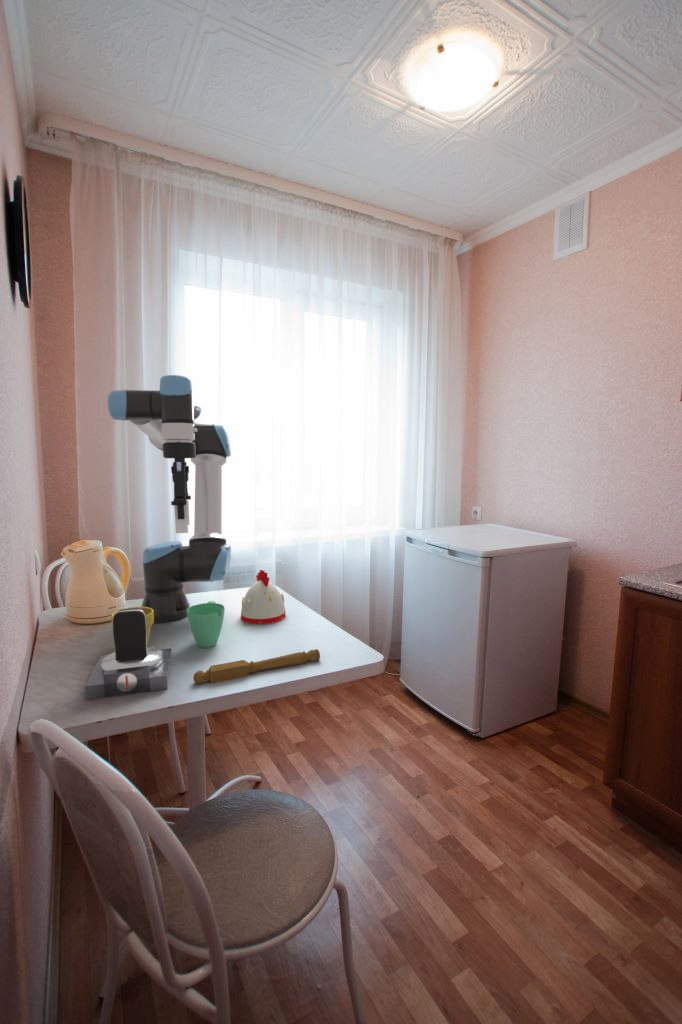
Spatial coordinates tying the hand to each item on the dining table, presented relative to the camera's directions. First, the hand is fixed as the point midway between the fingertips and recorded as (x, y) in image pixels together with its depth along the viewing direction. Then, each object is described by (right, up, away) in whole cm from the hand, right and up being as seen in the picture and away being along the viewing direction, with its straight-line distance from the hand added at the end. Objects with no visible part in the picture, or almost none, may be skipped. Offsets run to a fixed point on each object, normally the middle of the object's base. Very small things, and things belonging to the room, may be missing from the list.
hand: (183, 528), depth 117 cm
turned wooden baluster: (+20, -34, -5) cm, 40 cm away
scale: (-9, -34, -8) cm, 36 cm away
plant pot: (-16, -32, +9) cm, 37 cm away
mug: (+3, -32, +14) cm, 34 cm away
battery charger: (-9, -30, -8) cm, 32 cm away
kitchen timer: (+14, -29, +34) cm, 47 cm away
